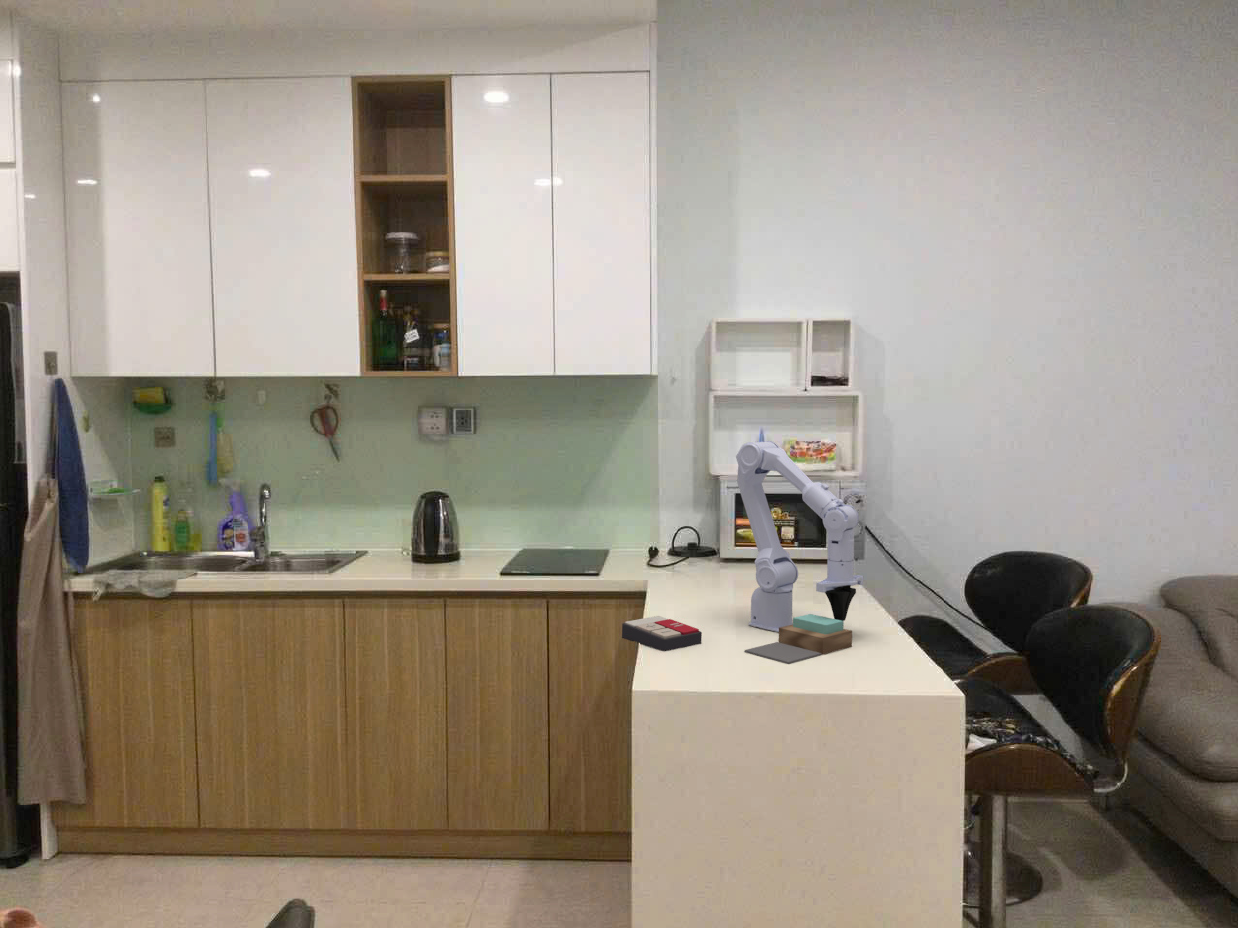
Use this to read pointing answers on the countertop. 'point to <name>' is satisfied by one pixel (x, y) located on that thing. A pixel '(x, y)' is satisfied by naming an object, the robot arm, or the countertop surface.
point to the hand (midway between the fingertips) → (839, 619)
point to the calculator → (661, 633)
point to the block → (818, 624)
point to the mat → (782, 652)
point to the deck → (815, 639)
